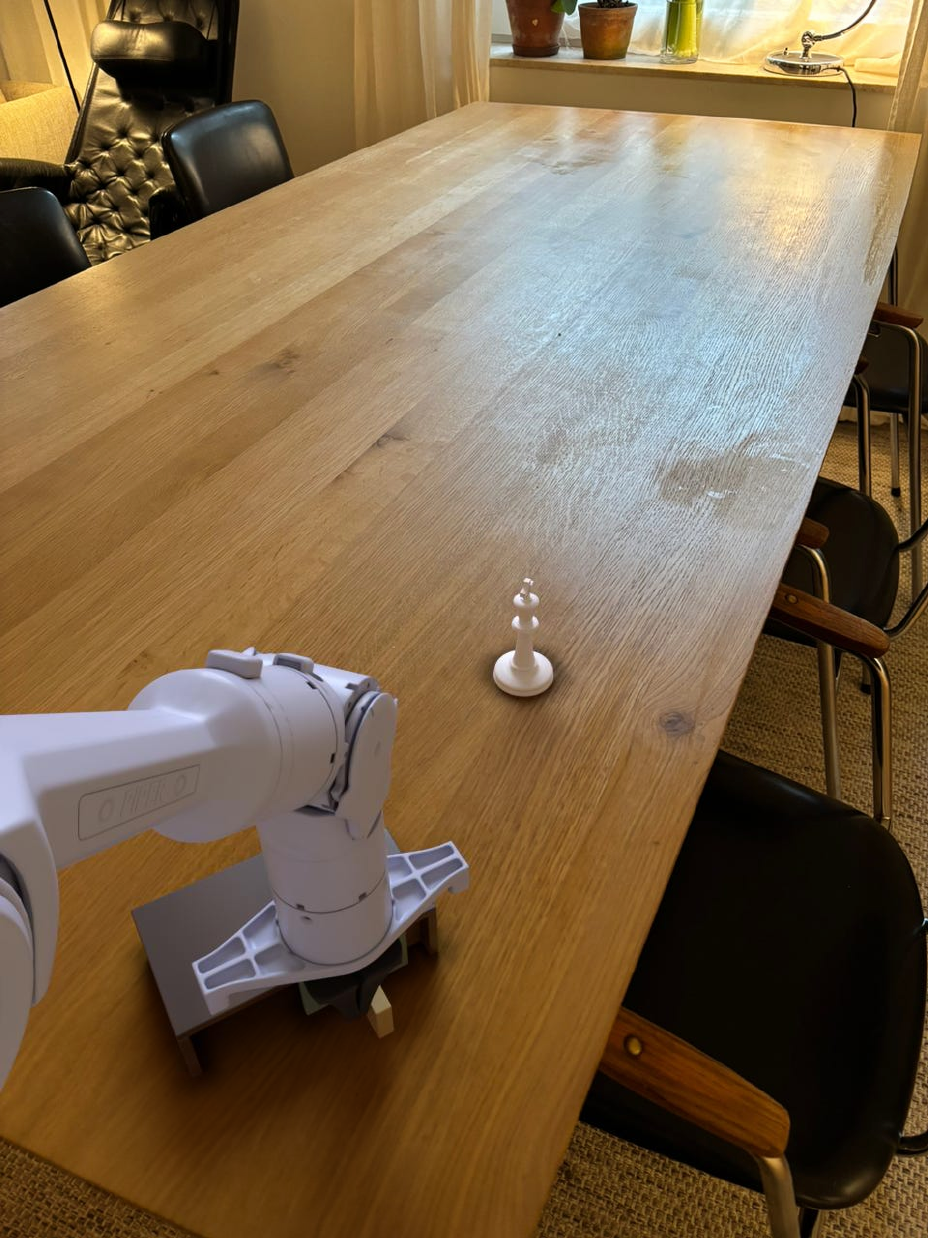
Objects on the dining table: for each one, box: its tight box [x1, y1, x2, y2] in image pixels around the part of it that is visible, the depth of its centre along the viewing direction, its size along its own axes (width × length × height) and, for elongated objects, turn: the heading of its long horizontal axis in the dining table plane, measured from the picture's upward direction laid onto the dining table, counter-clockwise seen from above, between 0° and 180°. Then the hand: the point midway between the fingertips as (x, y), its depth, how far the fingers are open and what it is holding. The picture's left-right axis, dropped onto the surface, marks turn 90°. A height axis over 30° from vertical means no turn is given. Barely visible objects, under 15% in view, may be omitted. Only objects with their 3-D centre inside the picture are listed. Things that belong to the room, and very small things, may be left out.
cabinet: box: [130, 824, 439, 1079], centre depth 61 cm, size 16×9×5 cm, turn 120°
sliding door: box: [297, 931, 409, 1039], centre depth 58 cm, size 7×5×4 cm
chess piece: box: [492, 577, 554, 697], centre depth 78 cm, size 5×5×10 cm
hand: (351, 1004), depth 56 cm, fingers closed
